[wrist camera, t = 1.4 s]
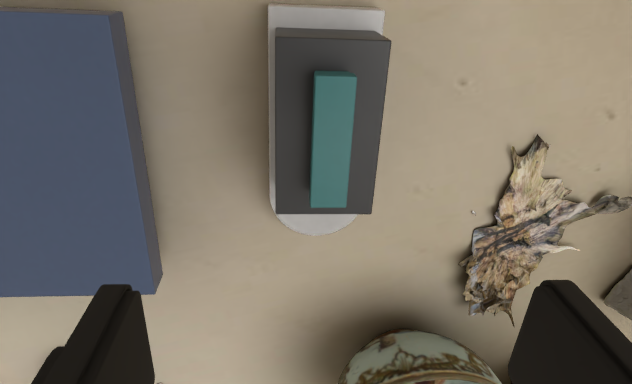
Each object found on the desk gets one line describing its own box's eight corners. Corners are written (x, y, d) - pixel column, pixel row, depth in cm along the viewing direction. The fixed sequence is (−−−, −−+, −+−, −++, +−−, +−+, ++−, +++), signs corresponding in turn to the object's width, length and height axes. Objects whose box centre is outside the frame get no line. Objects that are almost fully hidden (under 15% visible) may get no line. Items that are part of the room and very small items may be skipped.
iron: (268, 3, 23) (264, 14, 17) (378, 7, 23) (413, 20, 17) (270, 221, 29) (267, 289, 23) (357, 221, 30) (377, 287, 23)
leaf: (455, 320, 34) (465, 339, 33) (463, 142, 27) (475, 153, 26) (591, 300, 35) (608, 317, 33) (632, 118, 28) (657, 128, 26)
